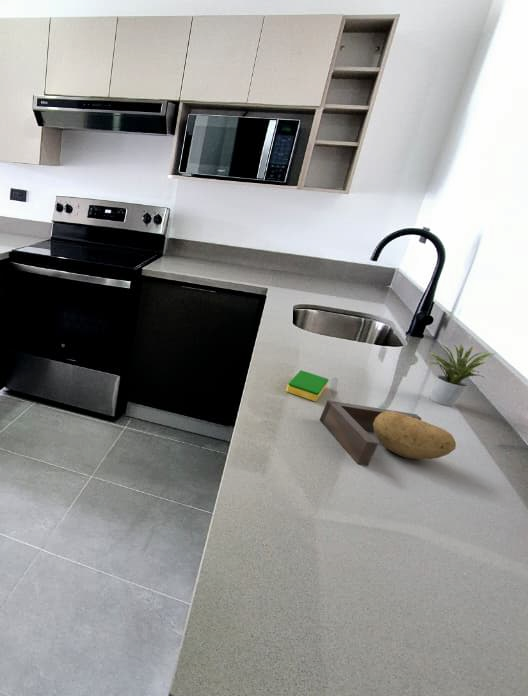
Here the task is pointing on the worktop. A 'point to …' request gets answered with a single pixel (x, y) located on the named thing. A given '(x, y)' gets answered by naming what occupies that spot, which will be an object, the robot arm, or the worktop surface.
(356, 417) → the wooden corner bracket
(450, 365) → the house plant
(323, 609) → the worktop surface
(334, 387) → the worktop surface
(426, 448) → the potato
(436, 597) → the worktop surface
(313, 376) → the dish sponge
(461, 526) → the worktop surface
